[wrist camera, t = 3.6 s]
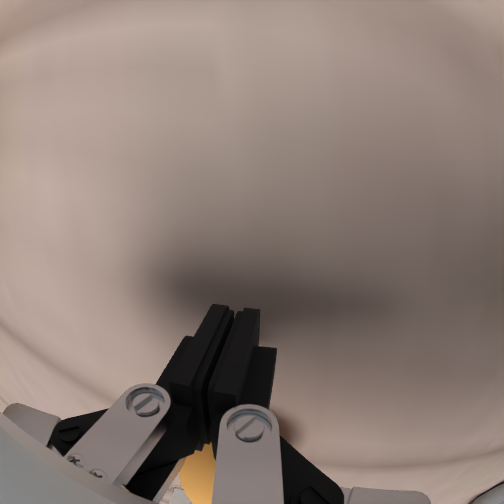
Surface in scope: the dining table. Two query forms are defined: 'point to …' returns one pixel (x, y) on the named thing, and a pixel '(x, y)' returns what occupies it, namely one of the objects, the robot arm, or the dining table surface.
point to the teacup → (492, 496)
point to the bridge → (179, 497)
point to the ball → (199, 475)
